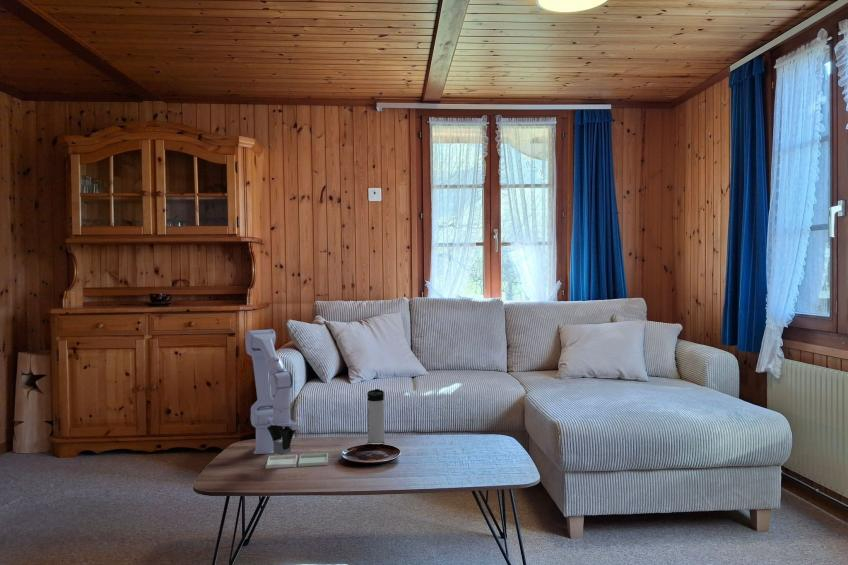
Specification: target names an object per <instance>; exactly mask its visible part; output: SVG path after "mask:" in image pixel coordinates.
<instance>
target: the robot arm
mask: <svg viewBox="0 0 848 565" xmlns="http://www.w3.org/2000/svg"><path fill="white" fill-rule="evenodd" d="M276 336H277V335H276V332H275V330H274V329H273V328H270V329H256V330H255V329H254V330H247V331H246V333H245V338H244V341H245V350H246V354H247V355H249V356H250V357H251V360H252V364H253V365H252V366H253V373H254V374H253V375H254V382H255V389H256V399H257V400H256V401H255V402H254V403H253V404H252V405H251V407H250V424H251V426H252V427H253V428H255V448H254V451H253V455H264V454H265V455H266V454H267V455H268V454H275V453H274V449H273V441H275V440H278V439H282V443H283V449H284V450H286V449H289V448H290V443H292V439H293V436H294V434H295V433H296V431H297V430H299V422H295V421H294V420H292V419H291V389H292V387H293V383H294V379H293V374H292V372H291V371H290V370H289V369H286V367H285V364H284V361H283V360H282V358H281V357H280V356H277V352H276V349H275V344H276V339H277V337H276Z"/></svg>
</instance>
